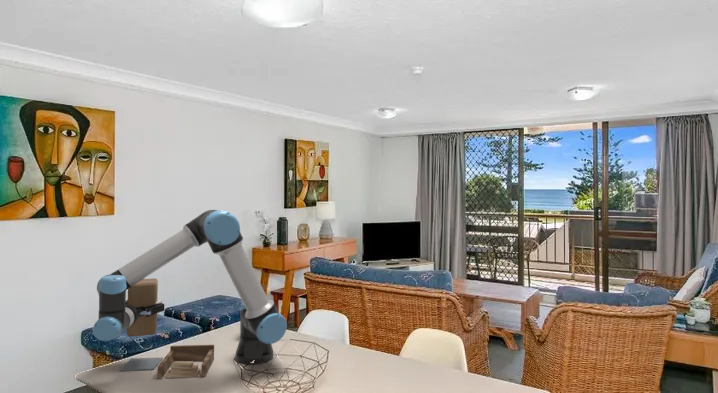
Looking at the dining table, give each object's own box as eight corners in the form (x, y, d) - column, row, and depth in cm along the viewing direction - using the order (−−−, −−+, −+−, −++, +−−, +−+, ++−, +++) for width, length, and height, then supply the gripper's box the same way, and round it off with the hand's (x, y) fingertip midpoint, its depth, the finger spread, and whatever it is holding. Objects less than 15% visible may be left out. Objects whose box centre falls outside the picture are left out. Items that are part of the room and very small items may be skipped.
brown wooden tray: (170, 361, 177) (171, 345, 177) (213, 359, 179) (214, 344, 179) (157, 378, 159) (157, 361, 159) (205, 377, 161) (205, 360, 162)
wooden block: (128, 330, 175) (129, 279, 175) (156, 327, 179) (157, 277, 179) (126, 337, 166) (127, 283, 166) (156, 335, 170) (157, 282, 170)
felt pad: (131, 359, 177) (131, 358, 177) (162, 358, 179) (162, 357, 179) (119, 371, 165) (119, 369, 165) (153, 370, 167) (153, 368, 167)
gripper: (85, 329, 151) (111, 313, 172) (159, 327, 154) (176, 312, 176) (85, 307, 151) (112, 293, 172) (160, 306, 154) (176, 293, 176)
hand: (144, 302), depth 174 cm, fingers closed on wooden block, 11 cm apart
